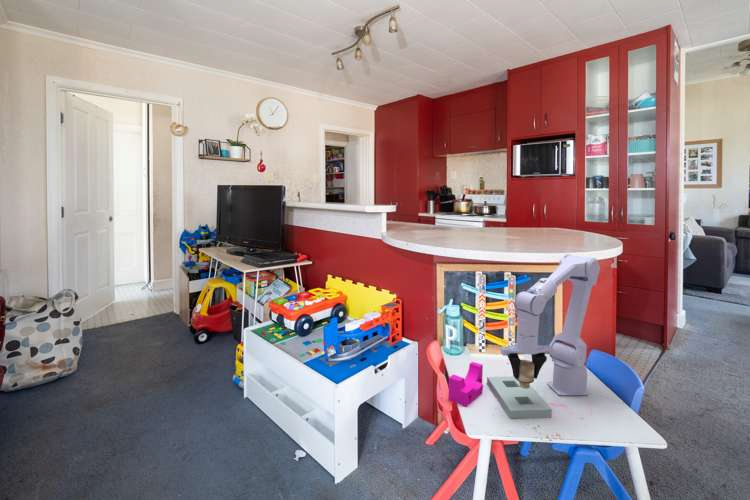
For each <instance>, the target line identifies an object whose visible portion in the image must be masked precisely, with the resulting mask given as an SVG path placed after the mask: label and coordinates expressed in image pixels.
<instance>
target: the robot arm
mask: <svg viewBox="0 0 750 500" xmlns="http://www.w3.org/2000/svg"><path fill="white" fill-rule="evenodd" d="M599 263H600V262H599V260H598V259H597V258H595V257H587V256H586V257H585V256H578V255H572V254H571V255H570V254H565V255H563V256H562V258H559V262H558V267H557V268H556V269H555V270H554V271H553V272H552V273H551V274H550V275H549V276H548V277H541V278H540V279H539V280H537V282H535V284H534V285H532V286H531V287H529V289H527V290H526V291H521V292H519V293H517V294H516V296H515V298H514V301H513V306H514V309H515V315H516V317H517V324H516V343H515V344H512V345H507V346H506V345H505V346H501V347H500V354H501V355H502V356H503V357H504V356H505V357H507V358H508V361H509V363H510V367H511V370H512V376H514V377H515V379H518V378H519V366H520V362H521V360H522V359H521V358H520V356H519V355H531V362H533V363H534V364H535V367H534V380H535V379H538V377H539V373H540V372H541V369H542V367H543V366H544V364H545V363H546V362H547V360H548V359H547V358H548V357H547V355H549V357H550V358H551V362H553V371H552V372H553V373H552V381H548V382H547V385H548V386H549V387H550V389H552V390H553V391H554V392H555V393H556V395H558V396H559V397H561V396H562V397H563V396H564V397H565V396H566V397H567V396H587V395H588V392H587V389H588V388H587V386H588V370H587V367H586V366H585V363H586V360H587V349H588V345H587V344H586V343H585V342H584V340H583V339H582V337H581V333H582V328H583V325H584V320H585V316H586V313H587V308H588V305H589V300H590V297H591V292H592V287H593V286H596V285H597V283H598V282H597V281H598V277H599V273H600V270H601V267H600V264H599ZM567 280H568V281H570V282H571V284H572V286H573V287H572V291H571V294H570V299H569V303H568V307H567V311H566V315H565V318H564V323H563V326H562V331H561V332H560V333H558V334H555V335H554V336H553V338H552V340H551V342H550V344H549V345H540V344H538V343H539V325H540V314H542V313H543V312H544V309H545V306H546V305H547V302H548V301H549V300H550V299H551V298H552V297H553V296H554V295H556V294H557V291H558V286H560V285H561V284H564V282H565V281H567Z"/></svg>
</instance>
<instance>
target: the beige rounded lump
mask: <svg viewBox="0 0 750 500" xmlns="http://www.w3.org/2000/svg"><path fill="white" fill-rule="evenodd" d="M520 360H521V362H520V366H519V378H518V379H516V380H518V381H519V386H520V387H521V388H524V389H528V388H529V386H530V385H531V383H534V381H535V378H534V367H535V364H534V363H533V362H532V360H527V359H520Z"/></svg>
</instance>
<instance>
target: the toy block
mask: <svg viewBox="0 0 750 500" xmlns="http://www.w3.org/2000/svg"><path fill="white" fill-rule="evenodd" d="M468 365H469V367H468V370H467V373H466V375H465V377H462V376H459V375H457V374H451V375H450V376H449V377H448V400H449V401H452V402H453V403H457V404H459V405H461V406H464V407H468V406H469V405H470V404H472V403H473V402H474V401H475V400H476V399H478V398H479V397H480V396H481V395H483V391H484V390H483V389H484V388H483V387H484V384H483V372H484V371H483V368H484V365H483V364H481V363H479V362H476V361H471V362H470V363H469V364H468Z"/></svg>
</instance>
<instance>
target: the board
mask: <svg viewBox="0 0 750 500" xmlns="http://www.w3.org/2000/svg"><path fill="white" fill-rule="evenodd" d="M486 385H487V386H488V388H489V389H490V390H491V392H492V394H493V395H494V397H495V398H496V399H497V401H498V402H499V404H500V405H501V407H502V408H503V410H504V412H505V413H506V414H507V416H508V417H509V419H512V420H513V419H542V418H547V419H548V418H552V414H553V410H552V409H553V408H551V407H550V405H549V404H548V403H547V402H546V400H544V398H543V397H542V396H541V395H540V394H539V393H538V392H537V391H536V390H535V388H533V386H532V385H531V384H530V386H529V388H528V389H524V388H521V387H520V386H519V381H518V380H516V379H515V377H514V376H513V375H512V376H511V375H508V376H487V377H486Z"/></svg>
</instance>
